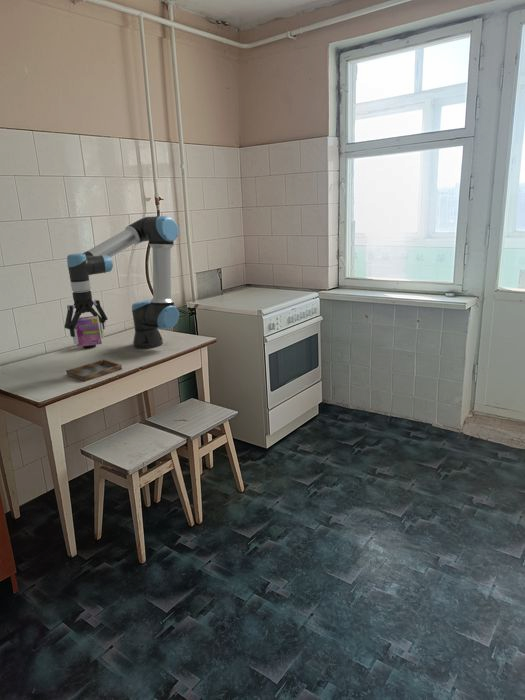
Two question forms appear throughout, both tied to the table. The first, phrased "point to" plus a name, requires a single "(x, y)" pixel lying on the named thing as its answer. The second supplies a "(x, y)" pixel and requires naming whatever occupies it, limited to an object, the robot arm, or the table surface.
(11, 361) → the table surface
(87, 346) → the coffee mug
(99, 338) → the box
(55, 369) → the table surface
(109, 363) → the tray
